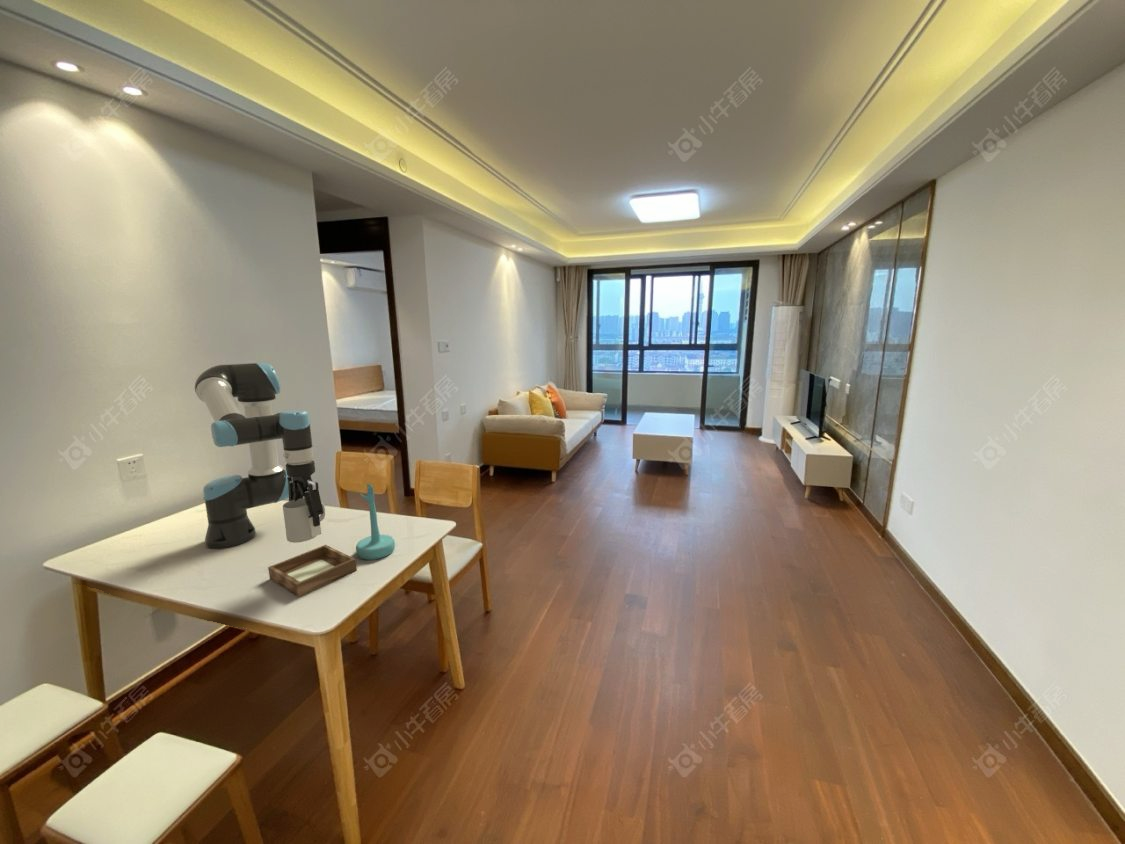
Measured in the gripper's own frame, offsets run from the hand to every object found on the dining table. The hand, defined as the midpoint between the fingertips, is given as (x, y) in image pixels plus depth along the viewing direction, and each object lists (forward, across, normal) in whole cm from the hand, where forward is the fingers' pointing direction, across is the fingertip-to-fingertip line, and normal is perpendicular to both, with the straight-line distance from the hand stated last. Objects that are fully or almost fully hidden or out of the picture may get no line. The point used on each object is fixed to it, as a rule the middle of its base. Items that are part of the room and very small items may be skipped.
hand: (308, 531), depth 139 cm
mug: (+1, 0, 0) cm, 1 cm away
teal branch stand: (+15, +3, +20) cm, 25 cm away
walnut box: (+15, 0, 0) cm, 15 cm away
